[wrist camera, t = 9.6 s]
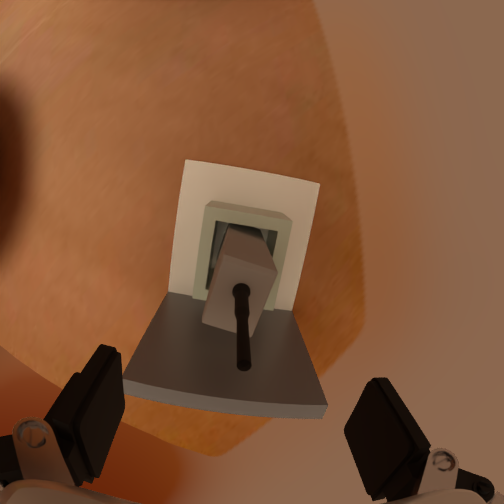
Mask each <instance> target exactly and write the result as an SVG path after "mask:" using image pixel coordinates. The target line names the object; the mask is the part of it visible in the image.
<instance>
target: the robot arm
mask: <svg viewBox="0 0 504 504" xmlns="http://www.w3.org/2000/svg"><path fill="white" fill-rule="evenodd" d="M124 409H125V399H124V389H123V377H122V363H121V353H119V352H117V350H116V348H115V347H111V346H107V345H103V344H100V345H99V347H98V348H97V350H96V351H95V353H94V354H93V355H92V357H91V358H90V360H89V361H88V363H87V364H86V366H85V367H84V369H83V370H82V372H81V373H78V372H76V373H74V374H73V375H72V377H71V378H70V380H69V381H68V383H67V384H66V386H65V387H64V389H63V390H62V392H61V393H60V395H59V396H58V398H57V399H56V401H55V402H54V404H53V405H52V407H51V409H50V410H49V412H48V413H47V415H46V416H45V418H44V419H43V420H42V419H41V418H36V417H27V418H23V419H21V420H20V421H18V422H17V423H16V424H15V425H14V428H13V431H12V432H13V433H12V435H7V436H2V437H0V504H141V503H136V502H132V501H128V500H124V499H120V498H116V497H113V496H109V495H106V494H102V493H98V492H95V491H91V490H88V489H84V488H81V487H79V486H81V485H82V483H83V481H86V482H89V483H92V482H93V480H94V477H96V478H99V477H100V474H101V471H102V469H103V466H104V463H105V460H106V457H107V455H108V452H109V449H110V447H111V444H112V441H113V439H114V436H115V433H116V431H117V428H118V426H119V423H120V421H121V418H122V416H123V413H124ZM344 434H345V437H346V439H347V442H348V445H349V447H350V450H351V452H352V455H353V458H354V460H355V463H356V466H357V468H358V471H359V474H360V476H361V479H362V481H363V484H364V487H365V490H366V492H367V494H368V495H371V498H372V501H376V500H380V499H384V498H385V497H386V499H387V503H383V504H504V496H503V495H502V494H500V493H499V492H496V493H495V494H494V486H493V484H492V483H491V481H489V480H488V479H486V478H485V477H482V476H479V475H476V474H473V473H470V472H467V471H465V470H462V469H459V468H458V467H459V462H458V459H457V457H456V456H455V455H454V454H453V453H452V452H451V451H449V450H447V449H443V448H437V449H434V450H432V451H431V452H430V450H429V448H430V446H431V445H430V443H429V441H428V440H427V438H426V437H425V435H424V434H423V432H422V430H421V429H420V427H419V426H418V424H417V422H416V421H415V419H414V418H413V416H412V415H411V413H410V412H409V410H408V408H407V407H406V405H405V404H404V402H403V401H402V399H401V398H400V396H399V395H398V393H397V392H396V390H395V389H394V387H393V386H392V384H391V383H390V381H389V380H388V379H387V378H385V377H384V378H373V379H372V380H371V381H369V382H368V383H367V384H366V386H365V388H364V390H363V392H362V394H361V396H360V398H359V401H358V402H357V405H356V406H355V408H354V410H353V412H352V414H351V416H350V418H349V420H348V421H347V423H346V425H345V428H344Z"/></svg>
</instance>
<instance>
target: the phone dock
mask: <svg viewBox="0 0 504 504" xmlns="http://www.w3.org/2000/svg"><path fill="white" fill-rule="evenodd" d="M319 187H320V183H315V182H311V181H306V180H302V179H297V178H292V177H287V176H282V175H277V174H272V173H267V172H262V171H256V170H251V169H245V168H239V167H233V166H227V165H221V164H215V163H208V162H201V161H194V160H187V159H186V160H185V166H184V172H183V178H182V184H181V190H180V197H179V203H178V210H177V217H176V225H175V233H174V241H173V249H172V258H171V267H170V277H169V288H168V293H167V294H166V296H165V298H164V300H163V301H162V303H161V305H160V307H159V308H158V310H157V312H156V314H155V316H154V317H153V319H152V321H151V323H150V325H149V326H148V328H147V330H146V332H145V334H144V335H143V337H142V339H141V341H140V343H139V345H138V347H137V348H136V350H135V352H134V354H133V356H132V358H131V360H130V362H129V363H128V365H127V367H126V369H125V371H124V373H123V375H122V377H123V389H124V394H127V395H131V396H135V397H139V398H143V399H148V400H152V401H157V402H161V403H166V404H171V405H177V406H182V407H188V408H194V409H200V410H206V411H213V412H221V413H229V414H238V415H248V416H260V417H275V418H302V419H322V418H323V416H324V413H325V411H326V409H327V407H328V404H327V401H326V398H325V395H324V393H323V390H322V388H321V385H320V382H319V380H318V377H317V374H316V372H315V369H314V367H313V364H312V361H311V359H310V356H309V354H308V351H307V348H306V346H305V343H304V341H303V338H302V336H301V333H300V330H299V328H298V325H297V323H296V320H295V318H294V315H293V312H292V308H293V304H294V300H295V296H296V292H297V288H298V284H299V280H300V275H301V271H302V267H303V263H304V258H305V254H306V249H307V245H308V240H309V236H310V231H311V227H312V222H313V217H314V212H315V207H316V203H317V198H318V193H319ZM228 223H234V224H240V225H246V226H251V227H255V228H258V229H260V230H261V233H262V235H263V238H264V240H265V242H266V245H267V247H268V249H269V252H270V254H271V257H272V259H273V262H274V264H275V266H276V269H277V271H278V274H277V276H276V279H275V281H274V284H273V286H272V289H271V291H270V294H269V296H268V299H267V301H266V304H265V306H264V309H263V311H262V313H261V316H260V318H259V321H258V323H257V326H256V328H255V330H254V333H253V335H252V337H249V338H250V351H251V364H252V366H251V369H250V370H248V371H240V370H239V369H238V368H237V333H234V332H231V331H227V330H224V329H221V328H217V327H214V326H211V325H208V324H205V323H202V315H203V311H204V307H205V303H206V299H207V295H208V291H209V288H210V284H211V281H212V277H213V273H214V269H215V265H216V261H217V260H216V258H217V255H218V252H219V249H220V246H221V243H222V240H223V237H224V235H225V232H226V229H227V226H228Z"/></svg>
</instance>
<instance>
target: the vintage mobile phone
mask: <svg viewBox="0 0 504 504" xmlns="http://www.w3.org/2000/svg"><path fill="white" fill-rule="evenodd" d="M216 260H217V261H216V265H215V269H214V273H213V277H212V281H211V284H210V288H209V291H208V295H207V299H206V303H205V307H204V311H203V315H202V323H205V324H208V325H211V326H214V327H217V328H221V329H224V330H227V331H231V332H234V333H237V368H238V369H239V370H240V371H248V370H250V369H251V366H252V364H251V351H250V338H249V337H252V335H253V333H254V330H255V328H256V326H257V323H258V321H259V318H260V316H261V313H262V311H263V309H264V306H265V304H266V301H267V299H268V296H269V294H270V291H271V289H272V286H273V284H274V281H275V279H276V276H277V274H278V271H277V269H276V266H275V264H274V262H273V259H272V257H271V254H270V252H269V249H268V247H267V245H266V242H265V240H264V238H263V235H262V233H261V230H260V229H258V228H255V227H251V226H246V225H240V224H234V223H228V226H227V229H226V232H225V235H224V237H223V240H222V243H221V246H220V249H219V252H218V255H217V258H216Z"/></svg>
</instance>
